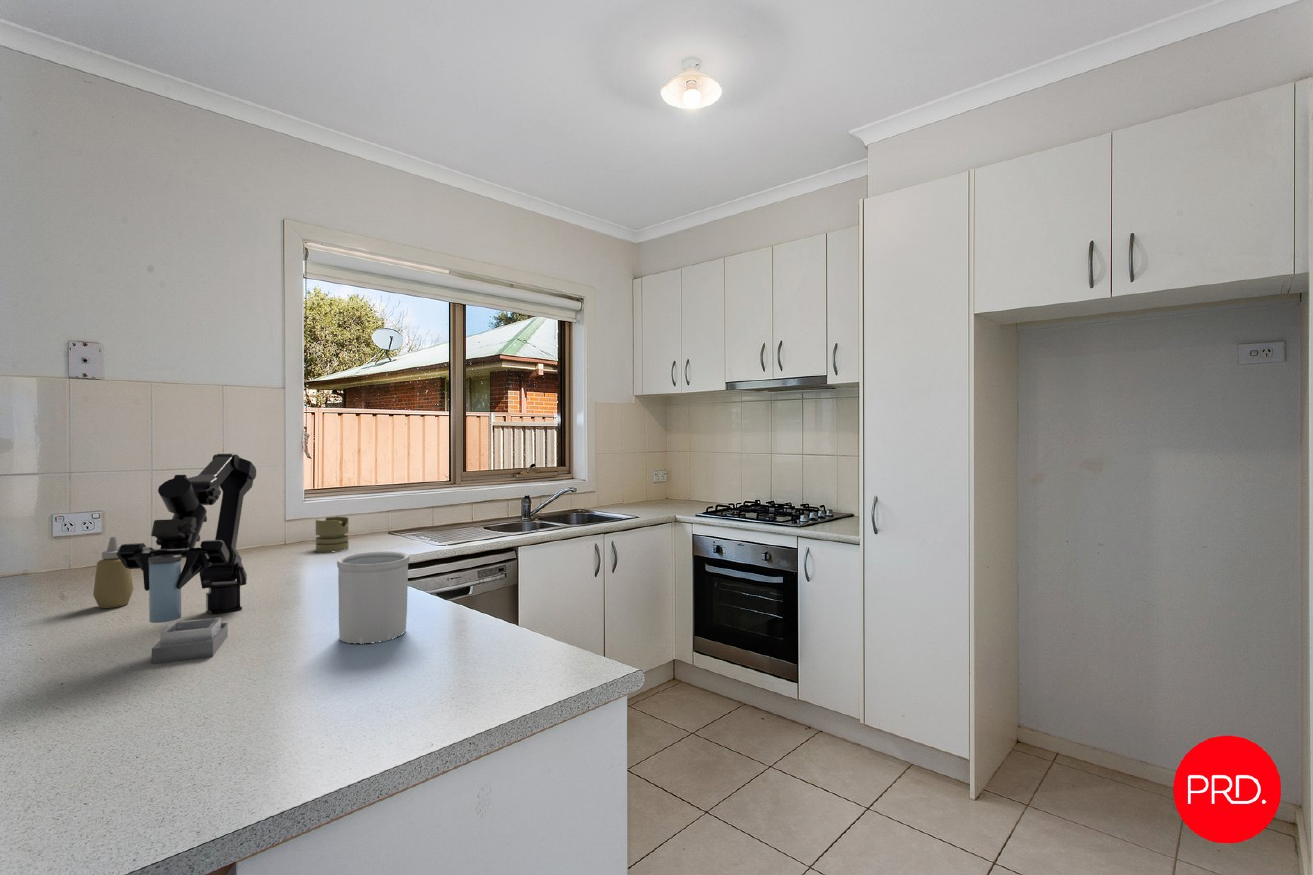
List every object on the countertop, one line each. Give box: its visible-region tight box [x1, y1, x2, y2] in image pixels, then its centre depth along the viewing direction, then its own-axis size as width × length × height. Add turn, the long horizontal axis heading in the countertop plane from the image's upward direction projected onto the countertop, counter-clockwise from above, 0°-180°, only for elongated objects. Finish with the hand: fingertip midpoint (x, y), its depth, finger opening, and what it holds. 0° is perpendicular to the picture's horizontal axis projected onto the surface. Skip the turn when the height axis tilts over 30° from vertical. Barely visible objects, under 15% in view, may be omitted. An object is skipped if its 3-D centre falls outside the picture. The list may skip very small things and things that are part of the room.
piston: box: [315, 516, 350, 553], centre depth 244 cm, size 11×12×11 cm
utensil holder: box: [336, 550, 410, 645], centre depth 141 cm, size 15×15×18 cm
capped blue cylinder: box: [148, 554, 182, 624], centre depth 130 cm, size 5×5×13 cm
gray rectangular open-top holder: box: [151, 617, 229, 665], centre depth 132 cm, size 14×10×5 cm
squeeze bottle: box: [92, 536, 134, 609], centre depth 165 cm, size 8×8×18 cm
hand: (162, 588), depth 129 cm, fingers closed on capped blue cylinder, 5 cm apart
